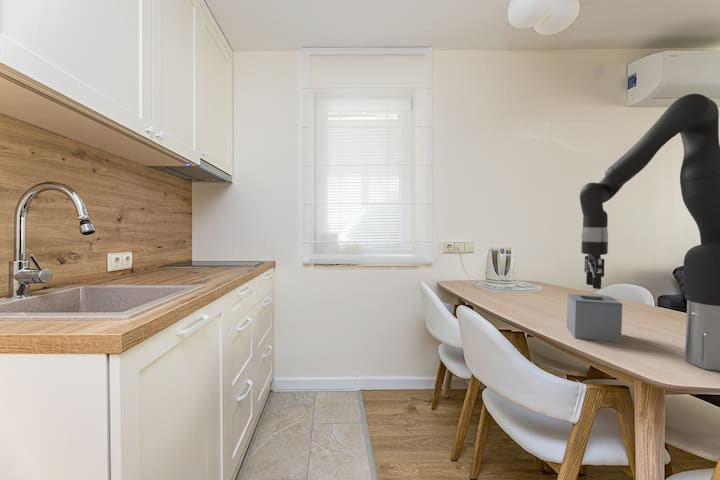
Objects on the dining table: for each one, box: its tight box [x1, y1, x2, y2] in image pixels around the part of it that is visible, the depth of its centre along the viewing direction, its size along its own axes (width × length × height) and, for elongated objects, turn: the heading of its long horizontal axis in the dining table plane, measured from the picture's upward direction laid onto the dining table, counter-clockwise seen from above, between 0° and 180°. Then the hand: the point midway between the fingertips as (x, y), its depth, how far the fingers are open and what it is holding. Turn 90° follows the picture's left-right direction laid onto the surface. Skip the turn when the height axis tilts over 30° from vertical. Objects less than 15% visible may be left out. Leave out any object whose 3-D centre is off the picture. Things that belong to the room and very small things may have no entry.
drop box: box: [566, 293, 623, 344], centre depth 117 cm, size 13×13×13 cm
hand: (593, 286), depth 117 cm, fingers open, 8 cm apart
